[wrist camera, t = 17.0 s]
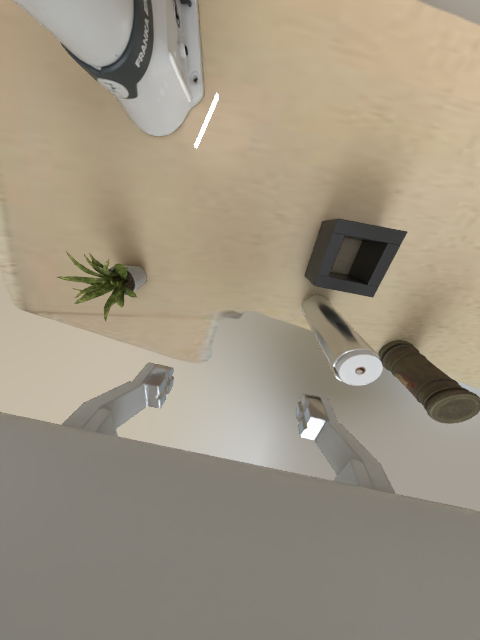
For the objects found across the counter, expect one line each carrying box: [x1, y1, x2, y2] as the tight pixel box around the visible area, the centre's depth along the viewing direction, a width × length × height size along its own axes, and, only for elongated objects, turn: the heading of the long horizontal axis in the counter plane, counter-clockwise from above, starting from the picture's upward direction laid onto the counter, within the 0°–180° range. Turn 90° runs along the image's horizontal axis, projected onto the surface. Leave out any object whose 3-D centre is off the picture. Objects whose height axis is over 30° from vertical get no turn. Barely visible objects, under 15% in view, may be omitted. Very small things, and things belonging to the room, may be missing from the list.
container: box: [378, 341, 480, 424], centre depth 43 cm, size 9×9×18 cm
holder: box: [305, 219, 407, 297], centre depth 38 cm, size 12×12×9 cm
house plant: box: [58, 251, 147, 321], centre depth 42 cm, size 14×14×16 cm
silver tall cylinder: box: [302, 295, 383, 385], centre depth 37 cm, size 6×6×25 cm
